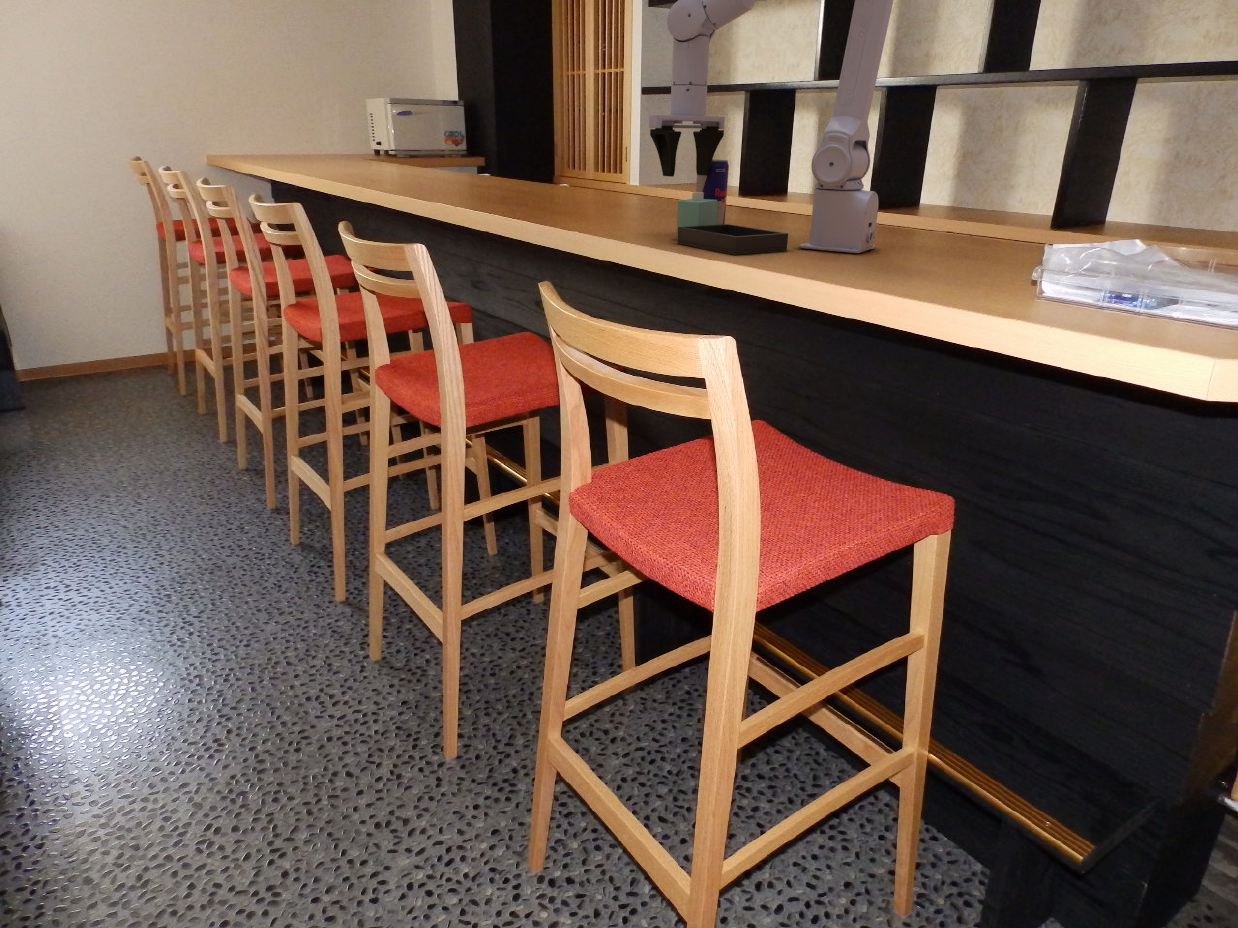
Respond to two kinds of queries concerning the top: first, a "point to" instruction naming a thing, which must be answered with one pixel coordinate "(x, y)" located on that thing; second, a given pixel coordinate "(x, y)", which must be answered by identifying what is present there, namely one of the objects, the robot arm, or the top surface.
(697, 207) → the detergent bottle
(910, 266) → the top surface
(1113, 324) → the top surface
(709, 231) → the tray
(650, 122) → the robot arm
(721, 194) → the energy drink
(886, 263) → the top surface
